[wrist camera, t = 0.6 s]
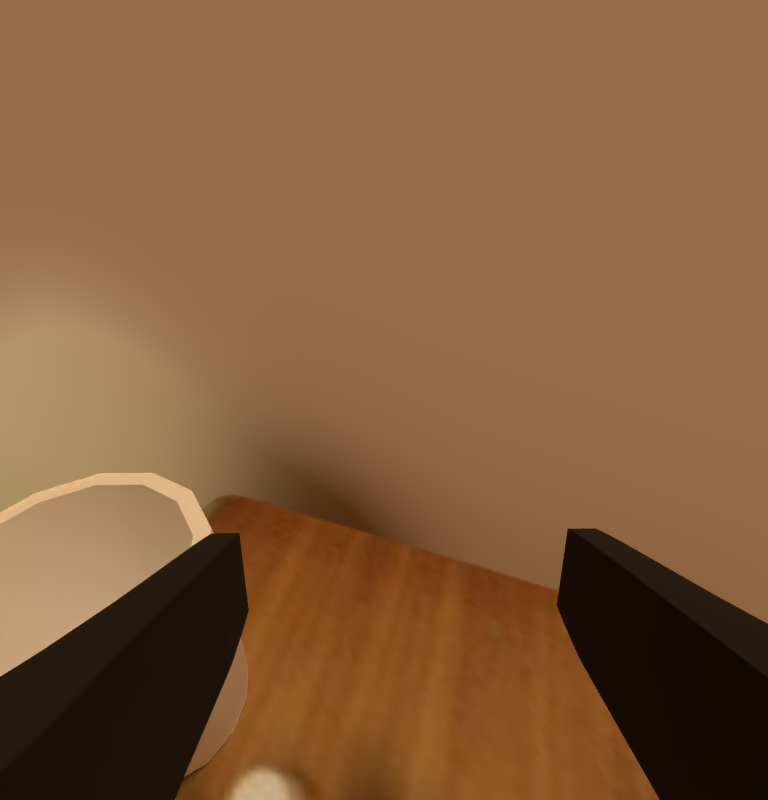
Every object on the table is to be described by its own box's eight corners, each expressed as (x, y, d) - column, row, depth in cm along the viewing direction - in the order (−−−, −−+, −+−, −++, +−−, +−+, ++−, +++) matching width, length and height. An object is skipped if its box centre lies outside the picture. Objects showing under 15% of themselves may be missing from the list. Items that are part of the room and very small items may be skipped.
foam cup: (291, 605, 23) (244, 472, 15) (254, 829, 16) (126, 809, 8) (140, 607, 23) (8, 474, 15) (34, 836, 16) (-334, 822, 8)
